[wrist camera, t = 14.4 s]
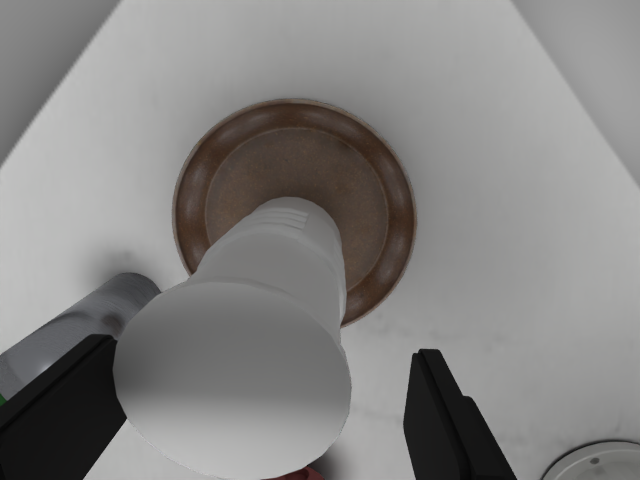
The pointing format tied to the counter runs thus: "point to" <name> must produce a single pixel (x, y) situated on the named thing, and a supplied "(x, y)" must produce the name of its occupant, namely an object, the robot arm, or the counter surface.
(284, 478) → the mechanical component
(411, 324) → the counter surface
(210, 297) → the white ribbed cylinder
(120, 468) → the counter surface
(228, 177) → the plant saucer
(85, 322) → the metal pillar
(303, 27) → the counter surface
